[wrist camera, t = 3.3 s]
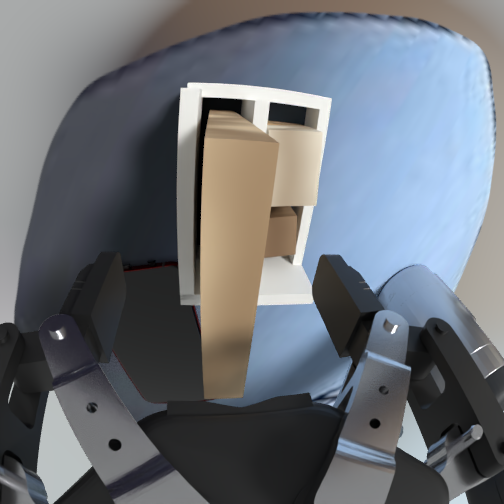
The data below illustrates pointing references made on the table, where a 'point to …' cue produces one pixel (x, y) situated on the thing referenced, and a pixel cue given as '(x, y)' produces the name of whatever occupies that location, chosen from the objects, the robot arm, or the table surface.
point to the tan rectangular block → (232, 245)
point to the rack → (190, 113)
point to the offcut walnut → (281, 232)
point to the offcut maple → (296, 165)
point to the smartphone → (159, 336)
